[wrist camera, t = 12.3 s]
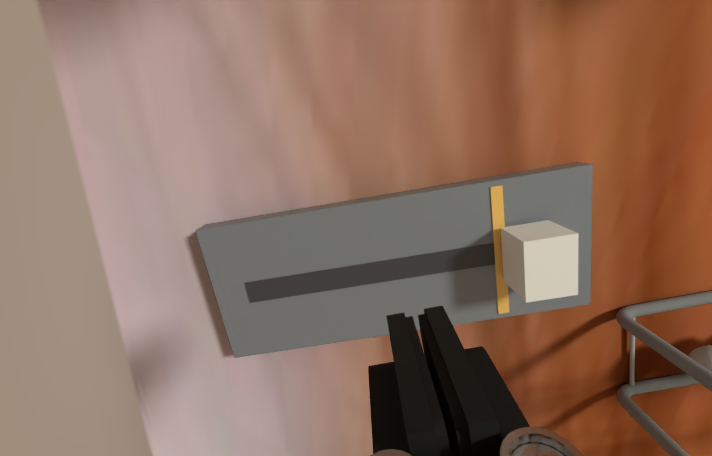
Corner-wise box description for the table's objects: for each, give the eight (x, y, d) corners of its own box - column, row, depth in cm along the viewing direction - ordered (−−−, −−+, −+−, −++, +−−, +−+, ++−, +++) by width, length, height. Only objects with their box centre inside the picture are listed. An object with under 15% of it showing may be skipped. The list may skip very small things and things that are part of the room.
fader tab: (499, 227, 29) (523, 242, 25) (546, 219, 29) (578, 233, 25) (502, 280, 30) (525, 302, 26) (548, 273, 30) (578, 294, 26)
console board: (205, 224, 31) (194, 230, 29) (577, 162, 30) (593, 164, 28) (241, 345, 35) (234, 358, 32) (576, 294, 33) (591, 304, 31)
